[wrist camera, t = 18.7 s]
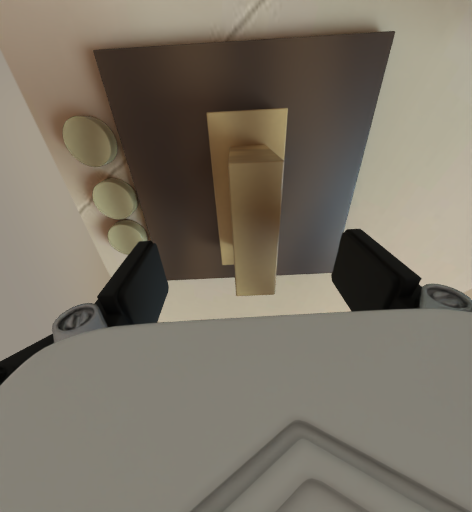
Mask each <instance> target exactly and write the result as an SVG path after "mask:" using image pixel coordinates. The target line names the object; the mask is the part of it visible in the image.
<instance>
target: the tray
mask: <svg viewBox="0 0 472 512" xmlns="http://www.w3.org/2000/svg"><path fill="white" fill-rule="evenodd" d="M394 34H395V31H389V32H373V33H357V34H341V35H325V36H309V37H293V38H277V39H261V40H246V41H230V42H214V43H198V44H182V45H166V46H150V47H134V48H118V49H103V50H93V52H94V55H95V58H96V61H97V65H98V68H99V71H100V74H101V78H102V81H103V84H104V87H105V91H106V94H107V97H108V100H109V104H110V107H111V110H112V113H113V117H114V120H115V123H116V127H117V130H118V133H119V136H120V140H121V143H122V146H123V149H124V153H125V156H126V159H127V162H128V166H129V169H130V172H131V175H132V179H133V182H134V185H135V188H136V192H137V195H138V198H139V202H140V205H141V208H142V211H143V215H144V218H145V221H146V224H147V228H148V231H149V234H150V237H151V241H152V242H153V243H156V245H157V247H158V251H159V254H160V258H161V261H162V265H163V268H164V272H165V275H166V279H167V280H186V279H208V278H230V277H235V269H234V265H222V259H221V250H220V240H219V230H218V221H217V211H216V201H215V192H214V182H213V172H212V163H211V153H210V143H209V134H208V124H207V112H223V111H241V110H258V109H276V108H288V115H287V129H286V143H285V157H284V175H283V189H282V203H281V216H280V230H279V244H278V258H277V271H276V275H295V274H317V273H332V272H333V268H334V264H335V260H336V256H337V252H338V247H339V243H340V239H341V235H342V233H343V231H344V228H345V224H346V220H347V216H348V212H349V208H350V204H351V200H352V197H353V193H354V189H355V185H356V181H357V177H358V173H359V170H360V166H361V162H362V158H363V154H364V150H365V146H366V142H367V139H368V135H369V131H370V127H371V123H372V119H373V115H374V111H375V108H376V104H377V100H378V96H379V92H380V88H381V84H382V81H383V77H384V73H385V69H386V65H387V61H388V57H389V53H390V50H391V46H392V42H393V38H394Z"/></svg>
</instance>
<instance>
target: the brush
mask: <svg viewBox="0 0 472 512" xmlns="http://www.w3.org/2000/svg"><path fill="white" fill-rule="evenodd" d="M287 115H288V108H276V109H258V110H241V111H223V112H207V124H208V134H209V143H210V153H211V163H212V172H213V182H214V192H215V201H216V211H217V221H218V230H219V240H220V250H221V259H222V265H234V269H235V284H236V295H237V296H251V295H274V294H275V285H276V271H277V258H278V244H279V230H280V216H281V203H282V189H283V175H284V157H285V143H286V129H287Z"/></svg>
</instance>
